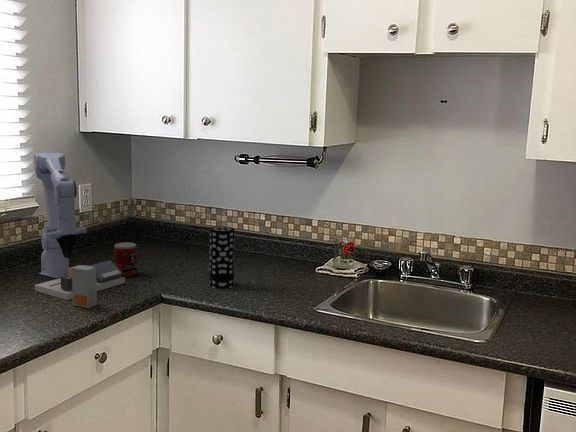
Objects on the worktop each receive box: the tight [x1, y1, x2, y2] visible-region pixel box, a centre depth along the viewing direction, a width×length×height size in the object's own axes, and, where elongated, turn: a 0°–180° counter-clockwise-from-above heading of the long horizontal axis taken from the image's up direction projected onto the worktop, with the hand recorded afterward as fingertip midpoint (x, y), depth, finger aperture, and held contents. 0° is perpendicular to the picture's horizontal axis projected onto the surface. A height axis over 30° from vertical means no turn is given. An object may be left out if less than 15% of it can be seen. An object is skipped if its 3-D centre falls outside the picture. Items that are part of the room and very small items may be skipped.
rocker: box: [89, 260, 122, 282], centre depth 211 cm, size 7×9×2 cm
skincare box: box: [72, 264, 98, 309], centre depth 188 cm, size 6×4×12 cm
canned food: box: [113, 241, 138, 278], centre depth 223 cm, size 8×8×11 cm
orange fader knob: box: [68, 266, 74, 277], centre depth 208 cm, size 4×2×4 cm
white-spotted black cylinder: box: [209, 225, 235, 290], centre depth 212 cm, size 8×8×20 cm
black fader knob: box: [60, 276, 72, 290], centre depth 197 cm, size 4×2×4 cm
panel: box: [34, 276, 126, 301], centre depth 207 cm, size 16×24×4 cm, turn 148°
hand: (67, 257), depth 206 cm, fingers closed
